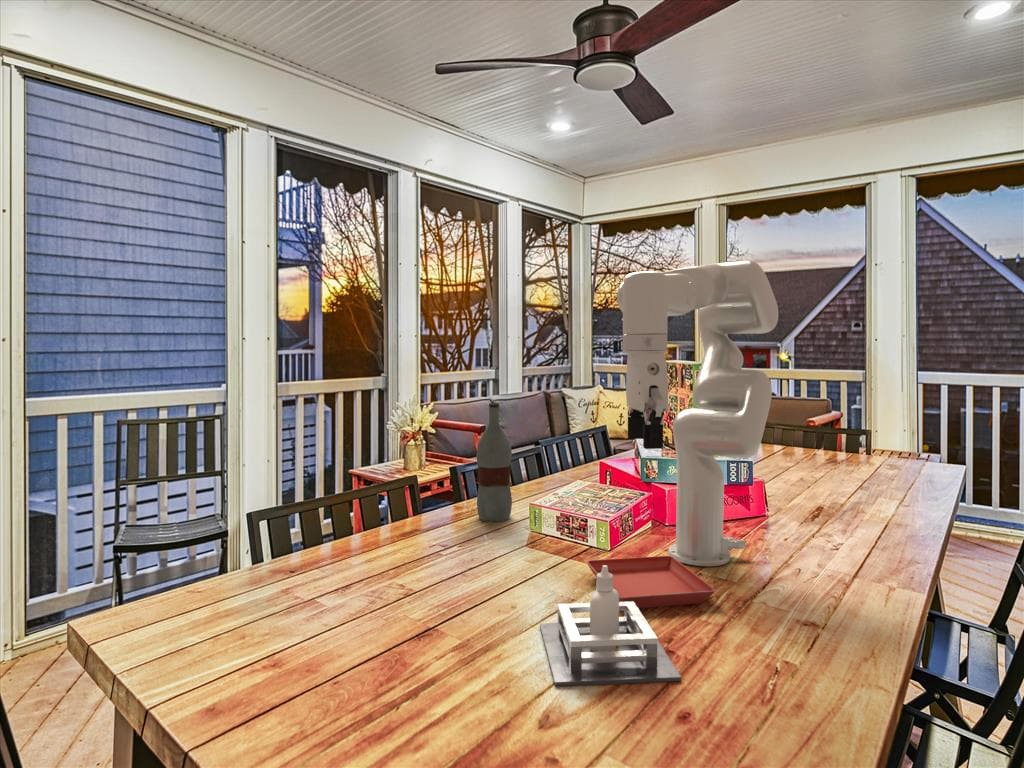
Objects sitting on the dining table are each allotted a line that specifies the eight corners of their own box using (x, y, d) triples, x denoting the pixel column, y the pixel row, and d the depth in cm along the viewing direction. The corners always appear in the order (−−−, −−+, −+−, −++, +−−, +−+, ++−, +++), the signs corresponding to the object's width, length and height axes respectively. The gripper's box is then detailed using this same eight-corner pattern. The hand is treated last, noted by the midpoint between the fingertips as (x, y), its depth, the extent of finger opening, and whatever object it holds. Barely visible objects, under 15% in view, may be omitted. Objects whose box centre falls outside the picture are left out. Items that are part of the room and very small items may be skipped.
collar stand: (644, 623, 98) (644, 594, 98) (681, 681, 81) (681, 646, 81) (539, 627, 97) (539, 597, 97) (555, 686, 80) (555, 651, 80)
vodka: (496, 510, 165) (496, 400, 163) (519, 517, 159) (519, 403, 157) (469, 517, 159) (468, 403, 157) (492, 524, 152) (491, 405, 150)
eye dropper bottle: (580, 643, 90) (580, 564, 89) (611, 635, 93) (612, 558, 92) (596, 656, 86) (597, 574, 85) (629, 648, 89) (629, 567, 88)
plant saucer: (670, 570, 122) (671, 553, 122) (717, 608, 105) (717, 589, 105) (585, 576, 119) (585, 560, 119) (618, 617, 101) (618, 597, 101)
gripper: (684, 345, 96) (683, 452, 97) (651, 344, 113) (650, 434, 115) (637, 346, 96) (637, 453, 97) (611, 344, 113) (611, 435, 114)
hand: (644, 443), depth 106 cm, fingers open, 9 cm apart
